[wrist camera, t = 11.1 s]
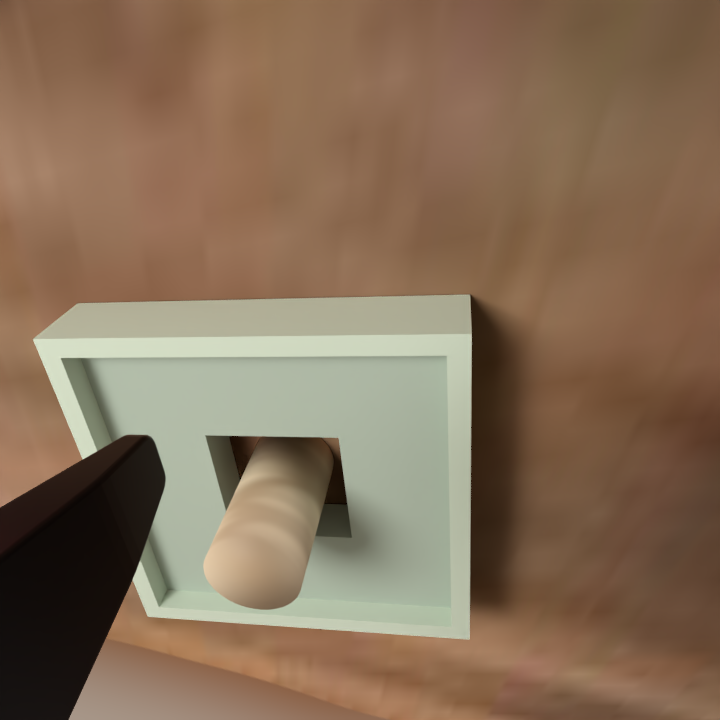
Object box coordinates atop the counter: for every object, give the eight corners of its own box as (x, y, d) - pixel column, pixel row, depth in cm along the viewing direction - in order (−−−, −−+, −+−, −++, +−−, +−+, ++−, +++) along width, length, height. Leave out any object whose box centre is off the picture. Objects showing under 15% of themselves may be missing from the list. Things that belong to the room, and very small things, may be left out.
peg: (329, 426, 26) (293, 543, 20) (338, 489, 27) (307, 612, 22) (248, 425, 26) (193, 538, 21) (262, 487, 28) (214, 606, 23)
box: (470, 294, 22) (471, 333, 19) (468, 584, 29) (469, 639, 27) (78, 303, 24) (33, 338, 22) (172, 567, 32) (148, 616, 29)
